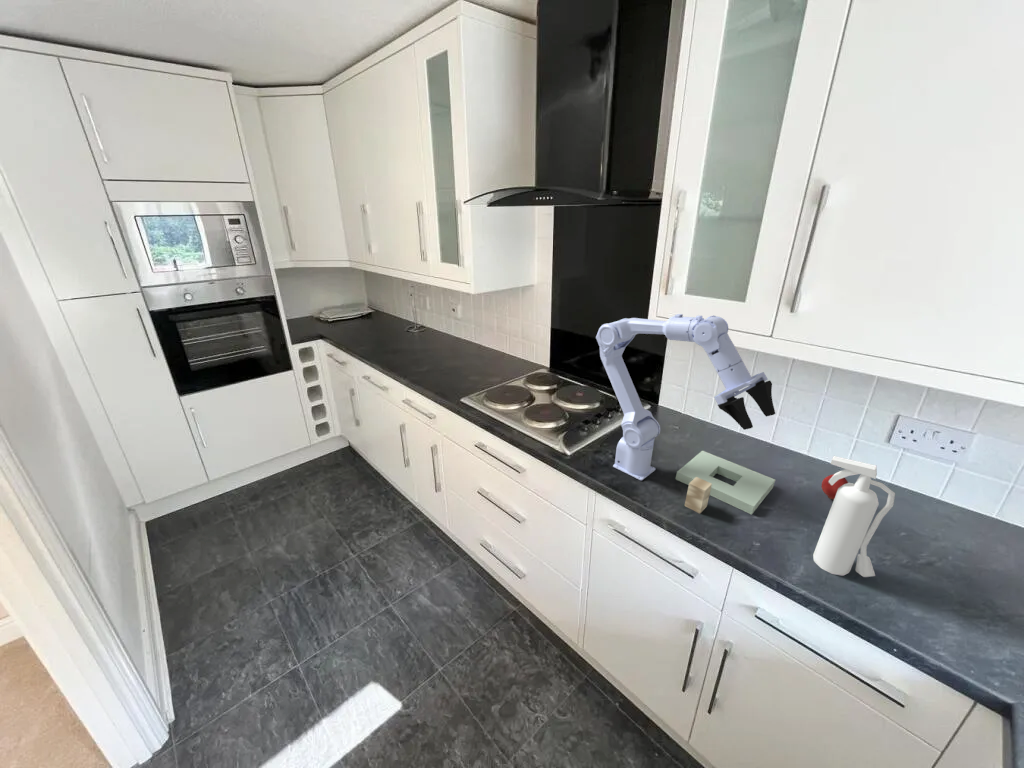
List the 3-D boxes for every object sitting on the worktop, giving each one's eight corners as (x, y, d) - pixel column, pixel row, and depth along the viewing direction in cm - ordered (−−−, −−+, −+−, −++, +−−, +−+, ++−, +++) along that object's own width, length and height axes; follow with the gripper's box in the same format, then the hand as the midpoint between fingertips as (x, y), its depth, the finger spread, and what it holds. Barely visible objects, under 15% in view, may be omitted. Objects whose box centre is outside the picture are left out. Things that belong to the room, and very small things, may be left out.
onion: (819, 488, 114) (828, 463, 111) (845, 497, 111) (855, 472, 108) (816, 499, 110) (825, 473, 107) (843, 508, 107) (853, 482, 104)
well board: (675, 479, 118) (676, 471, 117) (700, 457, 128) (702, 450, 127) (751, 514, 105) (753, 506, 104) (773, 487, 115) (775, 479, 114)
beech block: (684, 505, 108) (689, 483, 105) (691, 499, 110) (696, 476, 108) (699, 513, 105) (705, 490, 102) (706, 506, 108) (712, 483, 105)
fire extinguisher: (869, 592, 84) (912, 485, 75) (799, 560, 92) (830, 460, 83) (875, 574, 88) (915, 471, 79) (807, 544, 96) (837, 448, 87)
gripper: (720, 372, 88) (752, 431, 86) (765, 350, 93) (796, 405, 92) (697, 381, 95) (726, 436, 93) (740, 360, 100) (769, 412, 98)
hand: (759, 421), depth 93 cm, fingers open, 7 cm apart
